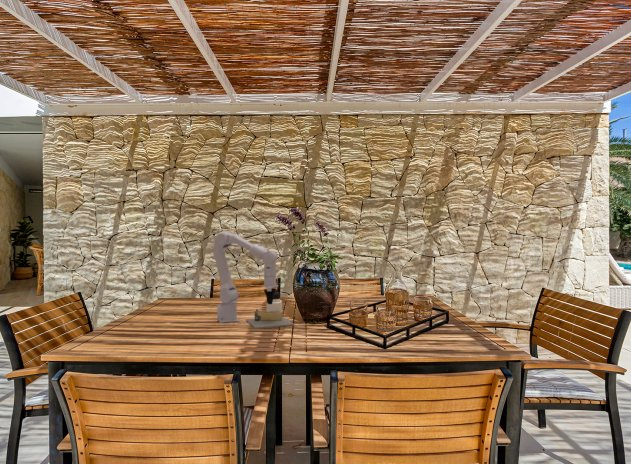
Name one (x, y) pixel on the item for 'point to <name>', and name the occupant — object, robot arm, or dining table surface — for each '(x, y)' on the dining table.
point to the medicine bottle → (275, 303)
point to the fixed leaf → (263, 312)
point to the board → (269, 323)
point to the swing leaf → (269, 315)
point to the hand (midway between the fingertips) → (269, 303)
